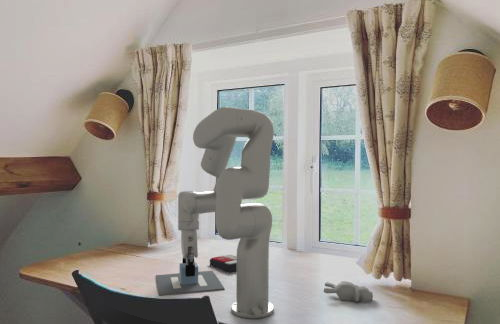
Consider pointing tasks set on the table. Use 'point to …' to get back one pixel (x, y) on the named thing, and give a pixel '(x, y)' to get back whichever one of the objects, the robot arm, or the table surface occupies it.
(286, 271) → the table surface
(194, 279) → the blue cube
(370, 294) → the bunny figurine
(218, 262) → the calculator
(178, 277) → the letter mat
